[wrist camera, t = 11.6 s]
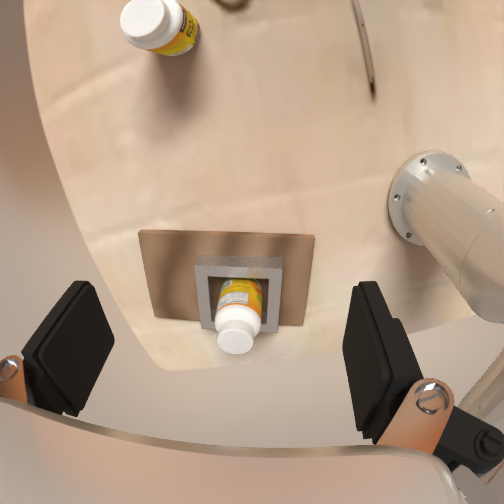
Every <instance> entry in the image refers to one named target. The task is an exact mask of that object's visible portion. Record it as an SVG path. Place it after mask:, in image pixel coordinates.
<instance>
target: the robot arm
mask: <svg viewBox="0 0 504 504" xmlns="http://www.w3.org/2000/svg"><path fill="white" fill-rule="evenodd" d="M421 159H422V161H421ZM420 161H421V162H420ZM395 195H396V196H395ZM394 196H395V197H394ZM388 209H389V216H390V218H391V221H392V224H393V225H394V227H395V229H396V230H397V232H398V233H399V234H400V235H401V236H402V237H403V238H404V239H405V240H406V241H408V242H410V243H412V244H415V245H418V246H425V247H426V248H427V250H428V251H429V252H430V253H431V255H432V256H433V257H434V258H435V260H436V261H437V262H438V264H439V265H440V266H441V268H442V269H443V270H444V272H445V273H446V274H447V276H448V277H449V278H450V280H451V281H452V282H453V284H454V285H455V287H456V288H457V289H458V291H459V292H460V294H461V295H462V297H463V298H464V299H465V301H466V302H467V303H468V305H469V306H470V308H471V309H472V310H473V311H474V312H475V313H476V314H477V315H478V316H480V317H481V318H483V319H484V320H486V321H489V322H493V323H502V324H504V202H502V201H501V200H499V199H498V198H496V197H495V196H493V195H492V194H491V193H489V192H488V191H486V190H484V189H483V188H481V187H480V186H478V185H477V184H475V183H474V182H472V181H471V179H470V176H469V174H468V171H467V170H466V168H465V167H464V165H463V164H462V163H461V162H460V161H459V160H458V159H456V158H455V157H453V156H451V155H449V154H447V153H445V152H440V151H427V152H424V153H420V154H418V155H416V156H414V157H412V158H411V159H410V160H409V161H407V162H406V163H405V164H404V165H403V166H402V167H401V169H400V170H399V171H398V173H397V174H396V176H395V178H394V180H393V182H392V185H391V187H390V192H389V197H388ZM113 345H114V335H113V333H112V331H111V328H110V326H109V324H108V321H107V319H106V317H105V314H104V312H103V309H102V306H101V304H100V301H99V298H98V296H97V293H96V291H95V288H94V286H93V285H91V284H90V282H89V281H74V282H73V283H72V284H71V286H70V287H69V288H68V289H67V291H66V292H65V293H64V294H63V296H62V297H61V298H60V299H59V301H58V302H57V303H56V304H55V306H54V307H53V308H52V310H51V311H50V312H49V314H48V315H47V316H46V318H45V319H44V320H43V322H42V323H41V324H40V326H39V327H38V329H37V330H36V331H35V333H34V334H33V335H32V337H31V338H30V340H29V341H28V342H27V344H26V345H25V347H24V348H23V350H22V351H21V353H22V355H23V356H24V360H23V361H22V359H21V358H19V357H18V356H15V355H11V356H8V357H6V358H4V359H3V360H1V361H0V504H463V503H462V500H461V496H460V492H459V490H461V492H462V493H463V494H464V495H465V496H466V498H465V500H466V501H467V502H468V504H504V348H503V350H502V352H501V353H500V354H499V355H498V357H497V358H496V359H495V361H494V362H493V363H492V364H491V366H490V367H489V368H488V369H487V371H486V372H485V373H484V374H483V375H482V377H481V378H480V379H479V380H478V381H477V382H476V384H475V385H474V386H473V387H472V388H471V390H470V391H469V392H468V393H467V395H466V396H465V397H464V398H463V399H462V401H461V402H460V404H459V405H458V407H455V406H454V395H453V393H452V391H451V389H450V388H449V387H448V386H447V385H446V384H445V383H444V382H442V381H440V380H437V379H433V378H426V379H424V378H423V375H422V373H421V370H420V368H419V365H418V362H417V360H416V357H415V354H414V352H413V349H412V347H411V345H410V342H409V340H408V337H407V335H406V332H405V330H404V328H403V325H402V323H401V321H400V320H399V319H398V318H392V316H391V314H390V311H389V309H388V307H387V304H386V302H385V300H384V297H383V295H382V293H381V291H380V288H379V286H378V284H377V282H376V281H363V282H359V284H358V286H354V287H353V290H352V296H351V302H350V307H349V313H348V318H347V324H346V329H345V334H344V339H343V356H344V360H345V365H346V370H347V376H348V382H349V387H350V393H351V398H352V404H353V410H354V416H355V422H356V428H357V431H362V433H363V439H370V438H372V442H373V444H374V445H357V446H333V447H316V448H315V447H314V448H251V447H250V448H249V447H232V446H218V445H207V444H197V443H188V442H181V441H173V440H166V439H160V438H154V437H148V436H143V435H138V434H132V433H128V432H123V431H118V430H114V429H110V428H105V427H101V426H98V425H94V424H90V423H86V422H83V421H79V420H76V419H72V418H69V417H66V416H63V415H62V413H63V411H64V412H65V413H66V414H68V415H71V416H74V417H77V416H78V414H79V412H80V410H83V408H84V406H85V404H86V402H87V400H88V397H89V395H90V393H91V391H92V388H93V387H94V384H95V382H96V380H97V378H98V376H99V374H100V372H101V370H102V368H103V366H104V364H105V362H106V359H107V357H108V355H109V353H110V351H111V349H112V347H113Z"/></svg>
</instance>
